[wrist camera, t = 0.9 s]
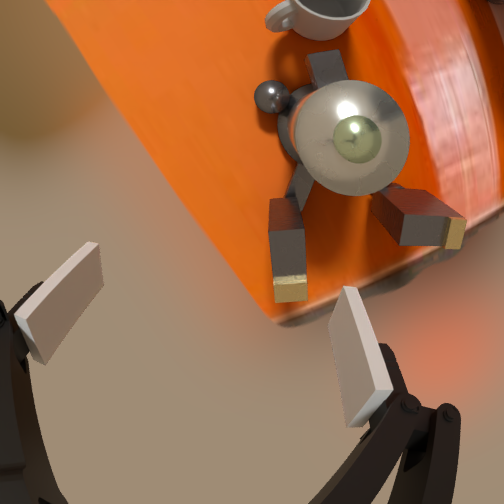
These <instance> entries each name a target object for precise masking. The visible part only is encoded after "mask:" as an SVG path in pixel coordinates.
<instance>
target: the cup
mask: <svg viewBox="0 0 504 504" xmlns="http://www.w3.org/2000/svg"><path fill="white" fill-rule="evenodd" d="M369 3H370V0H285V1H283V2H281V3H280V4H278V5H276V6H275V7H274V8H273V9H272V10H271V11H270V12H269V13H268V14H267V15H266V18H265V24H266V28H267V29H269V30H270V31H272V32H282V31H286V30H289V29H293V30H294V31H295V32H297V33H298V34H300V35H301V36H303V37H305V38H308V39H311V40H317V41H326V40H330V39H334V38H336V37H337V36H339V35H341V34H342V33H343V32H344V31H345V30H346V29H347V28H348V27H349V26H350V25H351V24H352V23H353V22H354V21H355V20H356V19H357V18H358V17H359V16H360V15H361V14H362V13H363V12H364V11H365V10H366V9H367V7H368V5H369Z"/></svg>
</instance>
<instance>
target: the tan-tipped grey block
mask: <svg viewBox="0 0 504 504" xmlns="http://www.w3.org/2000/svg"><path fill="white" fill-rule="evenodd" d="M268 233H269V242H270V252H271V261H272V271H273V281H274V284H273V285H274V295H275V303H281V302H295V301H308V293H307V274H306V248H305V228H304V224H303V220H302V216H301V212H300V208H299V204H298V200H297V197H289V198H277V199H270V207H269V228H268Z"/></svg>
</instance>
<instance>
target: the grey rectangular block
mask: <svg viewBox="0 0 504 504" xmlns="http://www.w3.org/2000/svg"><path fill="white" fill-rule="evenodd" d="M371 212H372V213H373V214H374V215H375V216H376V218H377V219H378V220H379V221H380V222H381V224H382V225H383V226H384V227H385V228H386V230H387V231H388V232H389V233H390V235H391V236H392V237H393V238H394V240H395V241H396V242H397V243H398V245H399V246H442V247H443V248H444V249H460V247H461V243H462V239H463V235H464V231H465V227H466V223H467V220H466V219H465V218H464V217H463V216H461V215H460V214H459V213H457V212H456V211H455V210H453V209H452V208H450V207H449V206H448V205H446V204H445V203H443V202H442V201H440V200H439V199H438V198H436V197H435V196H433V195H432V194H430V193H429V192H427V191H426V190H418V189H406V188H404V187H402V186H401V185H399V184H397V183H390V184H389V185H387V186H386V187H384V188H383V189H381V190H379V191H377V192H375V193H373V198H372V207H371Z"/></svg>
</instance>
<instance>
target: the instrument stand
mask: <svg viewBox="0 0 504 504" xmlns="http://www.w3.org/2000/svg"><path fill="white" fill-rule="evenodd" d="M304 61H305V64H306V67H307V70H308V73H309V76H310V80H311V84H308V85H305V86H302V87H300V88H299V89H297V90H295V91H294V92H293V93H292V94H290V95H289V91H288V89H287V88H286V86H285V85H283V84H282V83H280V82H278V81H274V80H269V81H265V82H263V83H261V84H260V85H259V86H258V87H257V88H256V90H255V93H254V100H255V103H256V105H257V106H258V107H259V109H261V110H262V111H264V112H266V113H279V115H278V123H277V126H278V133H279V138H280V140H281V143H282V145H283V147H284V149H285V150H286V151H287V153H288V154H289V155H290V156H291V157H292V158H293V159H294V160H295V161H296V162H297V164H296V166H295V169H294V172H293V174H292V177H291V179H290V182H289V185H288V187H287V190H286V193H285V195H284V198H289V197H297V200H298V204H299V208H300V211H302V210H303V207H304V205H305V202H306V200H307V198H308V195H309V193H310V190H311V188H312V185H313V183H314V180H316V181H317V182H318V183H320V184H321V185H323V186H324V187H325V188H327V189H329V190H331V191H333V192H336V193H339V194H343V195H348V196H362V195H368V194H371V193H375V192H377V191H379V190H381V189H383V188H384V187H386V186H387V185H389V184H390V183H391V182H392V181H393V180H394V179H395V178H396V177H397V176H398V174H399V173H400V172H401V170H402V168H403V166H404V164H405V162H406V159H407V156H408V152H409V145H410V136H409V129H408V125H407V121H406V119H405V116H404V114H403V112H402V110H401V109H400V107H399V106H398V104H397V103H396V102H395V101H394V99H393V98H392V97H391V96H390V95H388V94H387V93H386V92H385V91H383V90H382V89H380V88H379V87H377V86H374V85H372V84H370V83H367V82H363V81H358V80H348V76H347V73H346V70H345V67H344V63H343V60H342V57H341V54H340V51H339V49H337V50H330V51H324V52H318V53H313V54H307V56H306V57H305V59H304Z"/></svg>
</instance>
